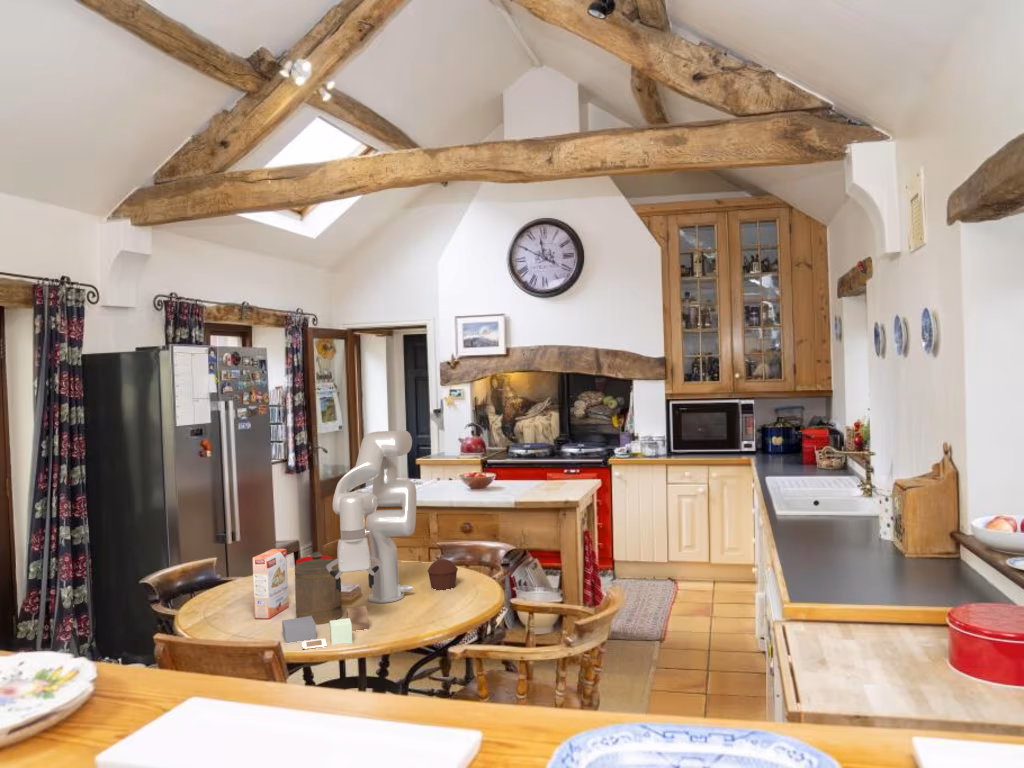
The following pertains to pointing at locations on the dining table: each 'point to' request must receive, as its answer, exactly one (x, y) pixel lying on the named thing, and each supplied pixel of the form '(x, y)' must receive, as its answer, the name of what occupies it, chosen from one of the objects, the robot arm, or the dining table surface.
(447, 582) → the muffin
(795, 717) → the dining table surface
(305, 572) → the wooden container
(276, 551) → the cracker box
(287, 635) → the base block
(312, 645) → the tile
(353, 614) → the walnut cube
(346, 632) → the sage cube
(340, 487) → the robot arm
